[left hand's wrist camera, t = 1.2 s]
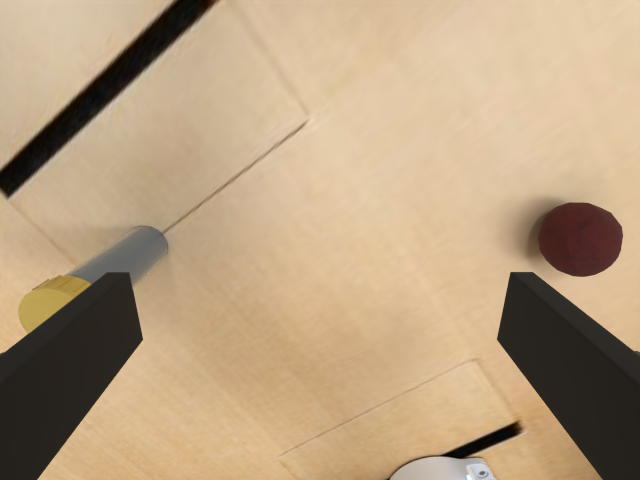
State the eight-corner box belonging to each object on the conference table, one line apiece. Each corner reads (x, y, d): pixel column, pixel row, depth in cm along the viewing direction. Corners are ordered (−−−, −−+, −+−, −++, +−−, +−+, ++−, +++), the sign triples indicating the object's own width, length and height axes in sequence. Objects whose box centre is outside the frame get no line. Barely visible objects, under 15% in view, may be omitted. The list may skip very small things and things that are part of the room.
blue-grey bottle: (166, 226, 41) (84, 291, 27) (169, 264, 43) (94, 343, 29) (124, 224, 41) (20, 288, 27) (129, 262, 43) (34, 341, 28)
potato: (540, 270, 43) (580, 300, 36) (513, 217, 41) (551, 239, 34) (601, 237, 41) (654, 262, 35) (577, 181, 39) (629, 196, 33)
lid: (102, 276, 29) (84, 290, 26) (112, 334, 30) (96, 351, 28) (33, 273, 28) (9, 286, 26) (47, 331, 30) (26, 348, 28)
